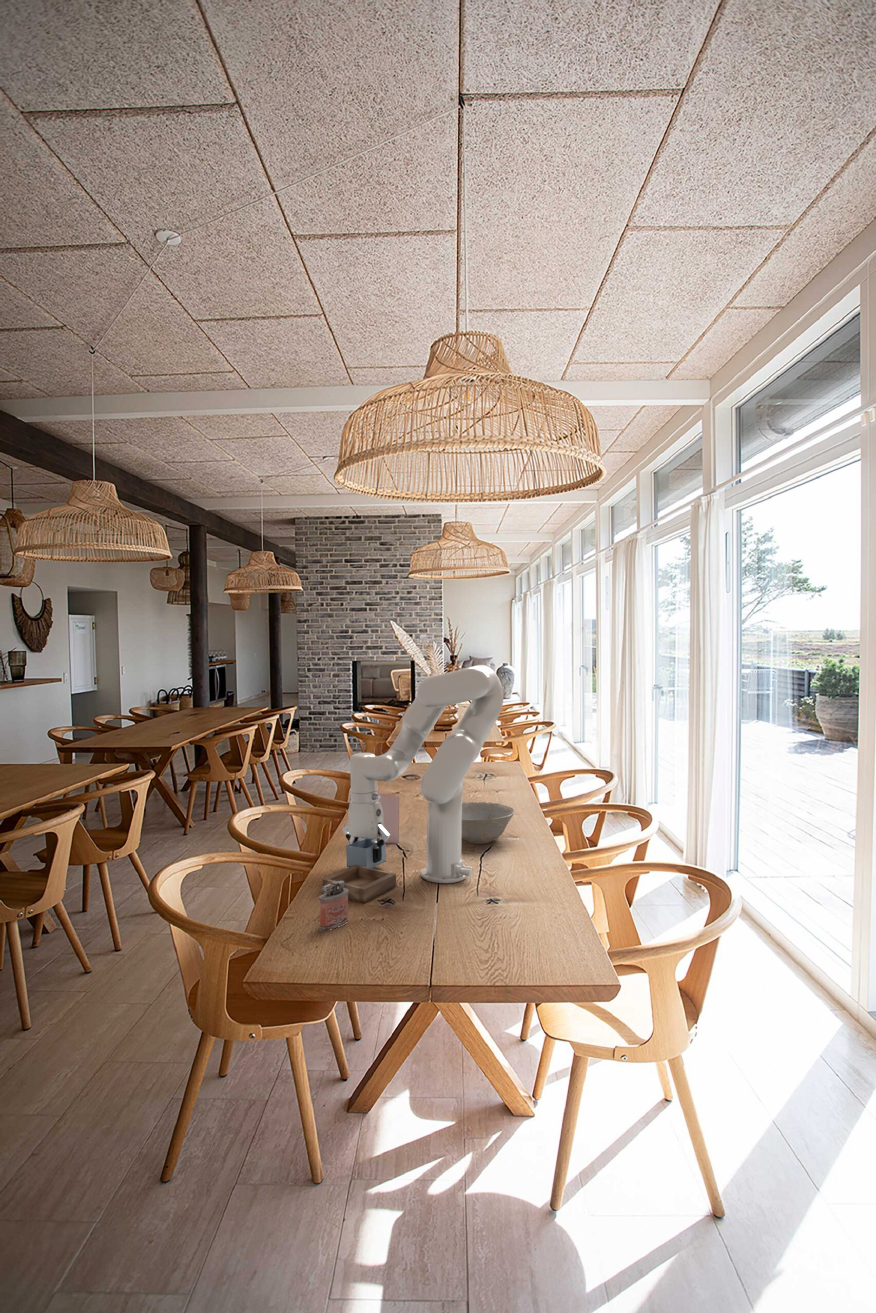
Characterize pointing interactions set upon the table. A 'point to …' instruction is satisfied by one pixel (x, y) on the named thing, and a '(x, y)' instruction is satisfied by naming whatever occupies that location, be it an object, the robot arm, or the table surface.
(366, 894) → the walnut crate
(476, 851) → the table surface
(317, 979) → the table surface
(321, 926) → the lighter
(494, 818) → the ceramic bowl
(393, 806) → the greeting card
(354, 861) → the small crate
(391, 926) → the table surface
